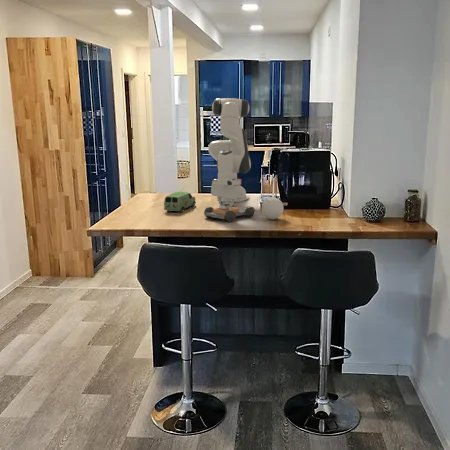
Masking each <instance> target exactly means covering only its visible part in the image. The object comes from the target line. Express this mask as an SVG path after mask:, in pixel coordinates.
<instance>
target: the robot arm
mask: <svg viewBox="0 0 450 450" xmlns="http://www.w3.org/2000/svg"><path fill="white" fill-rule="evenodd" d="M211 111H212V113H213V114H214V115H215V116H216V117H220V121H219V123H220V124H219V126H220V127H219V128H220V133H221V135H222V136H224V137H225V138H226V139H225V140H222V139H220V140H214V141H211V142H210V143H209V144H208V147H207V148H208V150H207V151H208V153H209V155H210V156H211V157H212V158H213V159H214V160H215V161H216V169H217V171H218V172H217V179H216V178H213V180H212V181H211V187H210V188H211V189H210V194H211V195H212V196H213V197H214V196H215V197H216V198H217V201H218V205H220V203H225V202H229V206H231V207H232V206H233V205H234V203H240V202H243V201H247V200H249V199H250V198H251V197H250V196H248V195H247V191H246V189H245V188H244V187H243V186H241V185H242V180H243V179H241V178H238V174H246V173H248V172H250V170H251V167H252V166H251V165H252V162H251V158H250V155H249V145H248V140H247V136H246V135H247V134H246V131H245V129H244V128H242V126H241V124H240V123H241V122H240V121H241V120H240V119H241V118H245V117H247V116H248V114H249V112H250V103H249V101H248V100H247V99H244V98H242V99H240V98H234V97H232V98H231V97H230V98H229V97H227V98H221V97H219V98H215V99H214V100H213V103H212V105H211ZM227 138H228V139H227Z"/></svg>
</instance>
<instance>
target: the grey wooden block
mask: <svg viewBox="0 0 450 450" xmlns="http://www.w3.org/2000/svg"><path fill="white" fill-rule="evenodd" d="M229 203H230V202H223V203H220V204H218V208H219V210H224V211H226V210H231V209H232V207H231V206H229Z"/></svg>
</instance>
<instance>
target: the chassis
mask: <svg viewBox="0 0 450 450" xmlns="http://www.w3.org/2000/svg"><path fill="white" fill-rule="evenodd" d="M255 213H256V211H255V208H254V207H253V206H251V205H250V206H247V207H245V208H244V207H242V206H241V207H240V206H234V204H233V206H232V209H231V210H226V211H224V210H219V207H216V208H215V207H213V206H206V207H205V209H204V212H203V215H204V216H205V218H209V219H211V218H216V219H221V220H225V221H226V222H227V223H233V222H234V221H235V220H236V217H240V216H243V215H245V216H246V218H253V217H254V215H255Z"/></svg>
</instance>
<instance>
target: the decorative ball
mask: <svg viewBox="0 0 450 450" xmlns="http://www.w3.org/2000/svg"><path fill="white" fill-rule="evenodd" d="M261 212H262V214H263V216H264V217H265V218H266V219H269V220H276V219H278V218H280V217H281V216H282V215H283V213H284V205H283V202H282V201H281V200H280V199H279V198H276V197H268V198H266V199H264V200H263V202H262V203H261Z"/></svg>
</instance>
